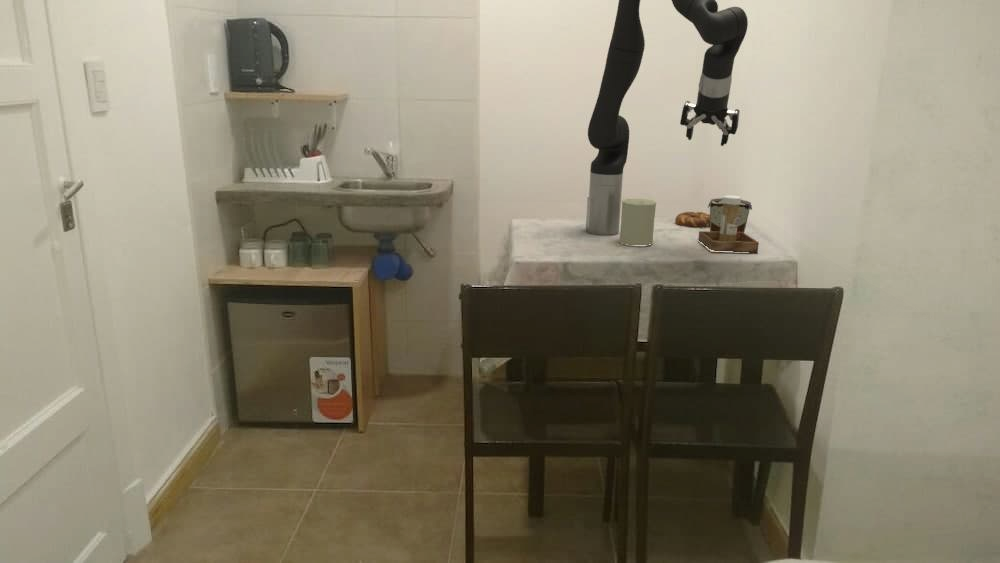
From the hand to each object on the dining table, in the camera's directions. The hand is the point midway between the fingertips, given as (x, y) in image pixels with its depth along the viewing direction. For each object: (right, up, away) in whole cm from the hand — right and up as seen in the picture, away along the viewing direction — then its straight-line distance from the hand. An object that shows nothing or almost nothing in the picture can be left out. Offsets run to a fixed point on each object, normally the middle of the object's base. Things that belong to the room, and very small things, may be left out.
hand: (706, 141), depth 192 cm
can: (-17, -27, +8) cm, 33 cm away
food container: (+12, -23, +22) cm, 34 cm away
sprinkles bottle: (+7, -27, +5) cm, 29 cm away
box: (+7, -28, +5) cm, 29 cm away
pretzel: (+6, -20, +33) cm, 39 cm away
